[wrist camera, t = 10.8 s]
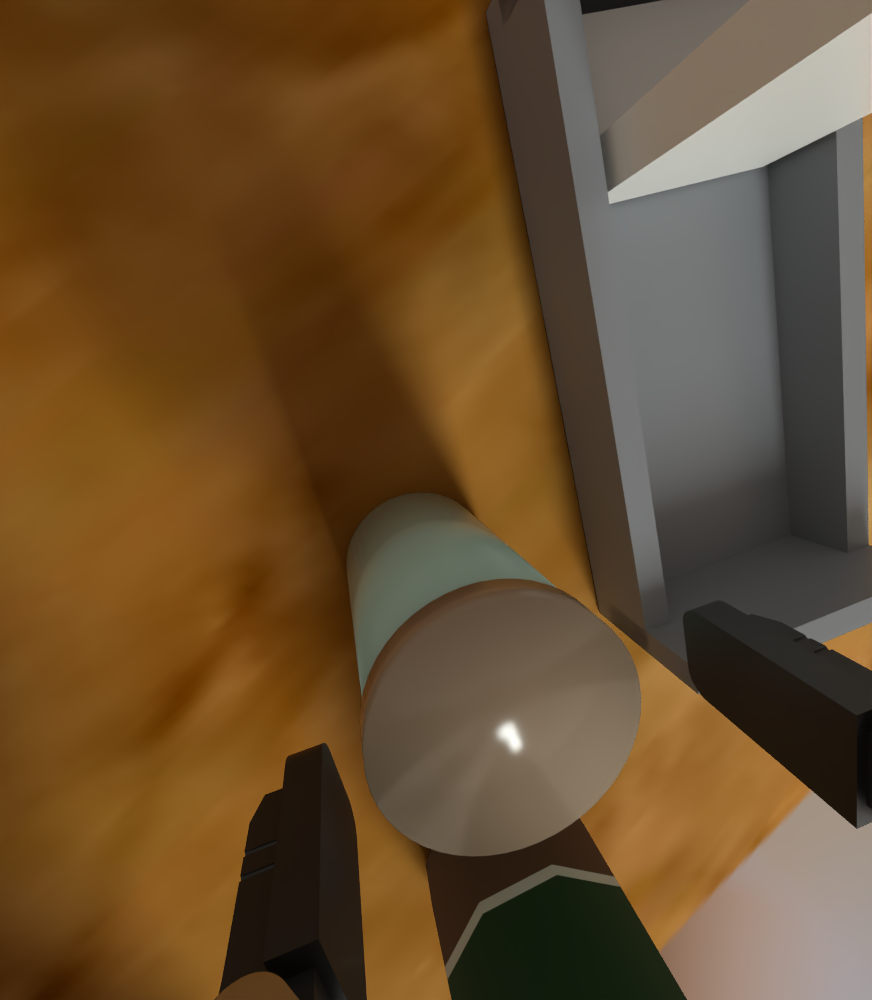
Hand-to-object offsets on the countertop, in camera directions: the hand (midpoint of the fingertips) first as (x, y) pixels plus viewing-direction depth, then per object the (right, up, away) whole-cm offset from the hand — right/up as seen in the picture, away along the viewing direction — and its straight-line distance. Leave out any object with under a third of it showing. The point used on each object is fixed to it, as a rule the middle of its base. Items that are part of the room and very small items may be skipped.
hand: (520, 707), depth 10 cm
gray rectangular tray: (+7, +11, +9) cm, 16 cm away
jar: (-2, +2, +9) cm, 9 cm away
